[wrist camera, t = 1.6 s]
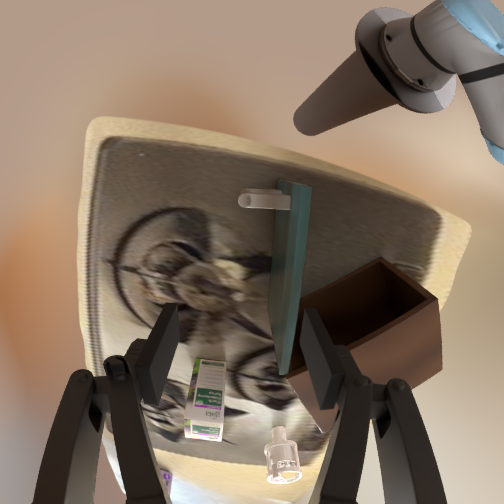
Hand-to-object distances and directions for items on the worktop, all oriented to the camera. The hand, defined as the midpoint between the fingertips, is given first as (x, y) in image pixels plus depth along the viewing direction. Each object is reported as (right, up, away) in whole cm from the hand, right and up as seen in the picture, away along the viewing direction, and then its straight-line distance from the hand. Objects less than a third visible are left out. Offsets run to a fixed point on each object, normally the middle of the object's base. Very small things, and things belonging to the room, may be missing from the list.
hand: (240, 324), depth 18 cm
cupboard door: (+2, +5, +23) cm, 23 cm away
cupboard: (+16, -6, +27) cm, 32 cm away
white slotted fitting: (+7, -36, +36) cm, 51 cm away
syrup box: (-7, -17, +30) cm, 35 cm away
